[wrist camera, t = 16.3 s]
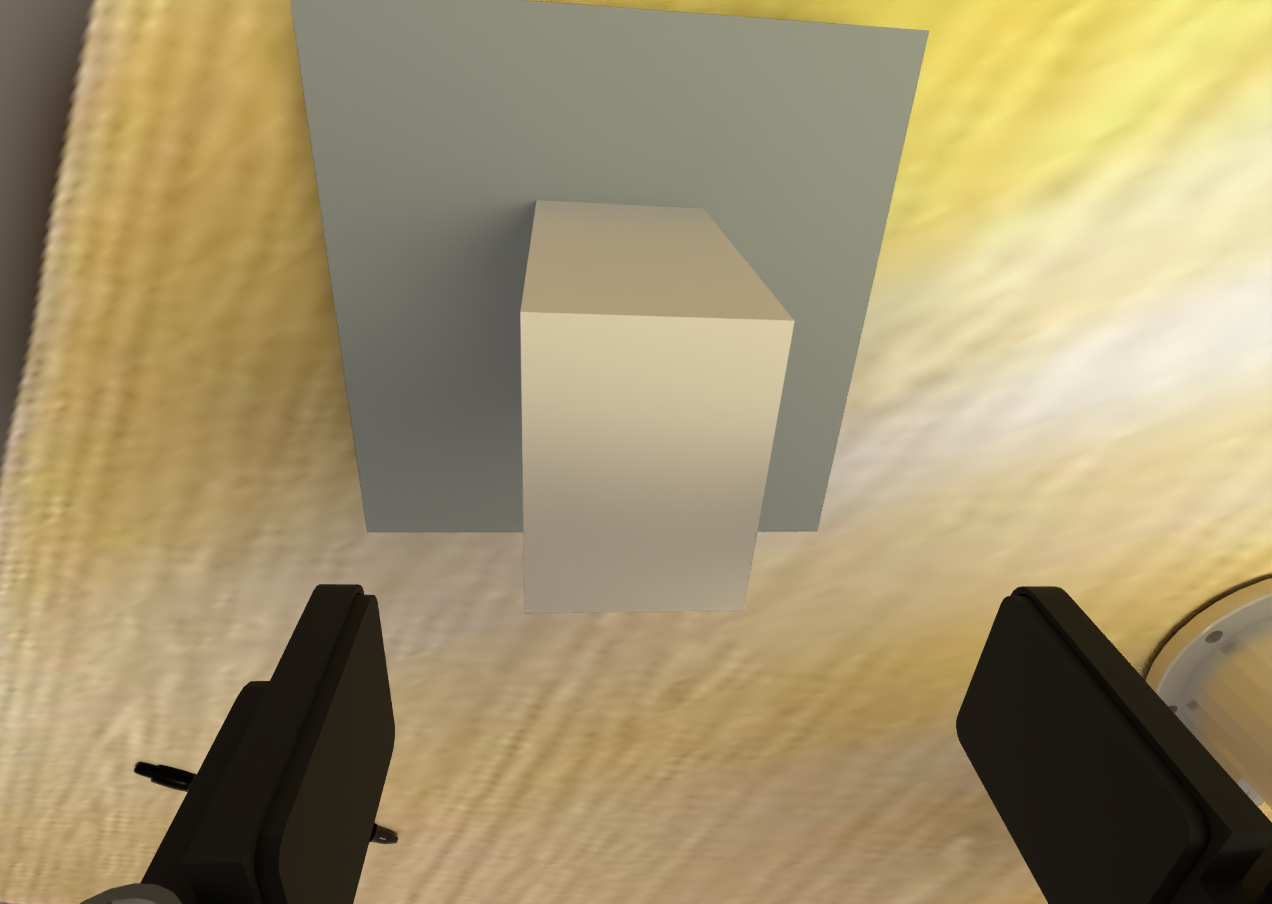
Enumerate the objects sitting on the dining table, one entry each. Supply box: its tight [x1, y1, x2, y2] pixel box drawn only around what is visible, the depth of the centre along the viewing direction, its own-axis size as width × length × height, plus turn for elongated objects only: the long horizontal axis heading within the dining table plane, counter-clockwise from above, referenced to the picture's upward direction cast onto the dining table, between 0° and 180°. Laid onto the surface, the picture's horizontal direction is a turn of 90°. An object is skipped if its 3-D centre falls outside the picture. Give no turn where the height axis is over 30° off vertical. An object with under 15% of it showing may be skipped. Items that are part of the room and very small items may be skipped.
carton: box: [520, 200, 795, 613], centre depth 19 cm, size 5×7×10 cm
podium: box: [290, 0, 929, 532], centre depth 25 cm, size 17×17×4 cm
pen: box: [134, 762, 398, 844], centre depth 40 cm, size 14×2×1 cm, turn 57°
